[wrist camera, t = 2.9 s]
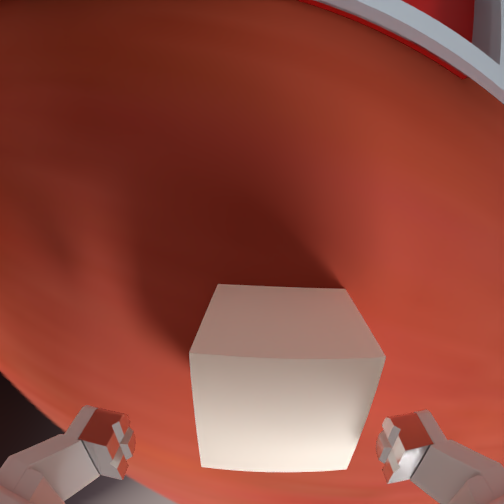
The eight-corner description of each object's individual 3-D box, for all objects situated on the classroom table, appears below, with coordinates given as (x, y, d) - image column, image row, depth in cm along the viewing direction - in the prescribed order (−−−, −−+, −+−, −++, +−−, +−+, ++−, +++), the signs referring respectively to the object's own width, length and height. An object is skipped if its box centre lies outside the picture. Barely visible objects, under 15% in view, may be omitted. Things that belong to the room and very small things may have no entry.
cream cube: (344, 288, 12) (385, 357, 7) (327, 386, 13) (346, 469, 8) (218, 283, 12) (189, 352, 7) (219, 383, 13) (201, 466, 9)
